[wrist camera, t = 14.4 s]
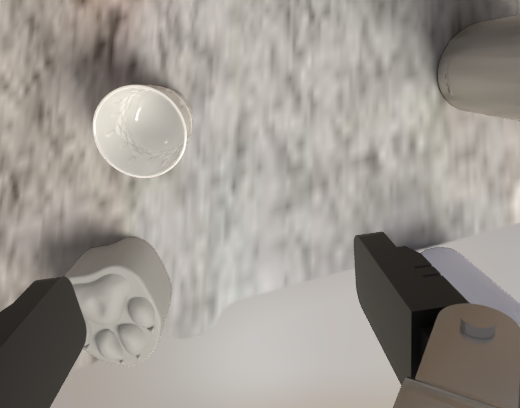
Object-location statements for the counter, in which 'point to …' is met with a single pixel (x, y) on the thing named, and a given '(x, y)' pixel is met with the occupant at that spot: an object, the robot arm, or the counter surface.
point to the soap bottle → (472, 281)
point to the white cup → (142, 129)
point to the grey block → (122, 300)
